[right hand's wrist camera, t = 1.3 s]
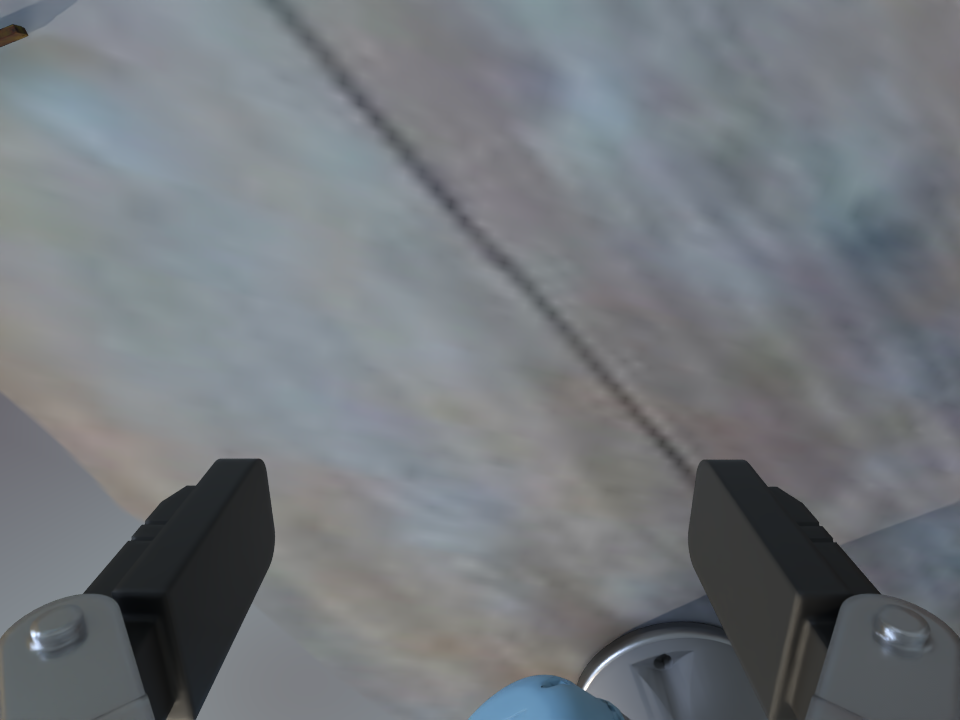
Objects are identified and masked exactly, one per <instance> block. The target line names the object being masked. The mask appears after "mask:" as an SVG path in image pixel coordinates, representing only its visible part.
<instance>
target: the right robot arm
mask: <svg viewBox="0 0 960 720" xmlns="http://www.w3.org/2000/svg"><path fill="white" fill-rule="evenodd" d="M274 545H275V529H274V522H273V514H272V507H271V500H270V492H269V485H268V478H267V471H266V467H265V464H264V462H263V460H261V459H218V460H217V461H216V462H215V463H214V464H213V465H212V466H211V468H210V469H209V470H208V471H207V473H206V474H205V475H204V476H203V478H202V479H201V480H200V481H199V483H198V484H197V485H196V486H186V487H184V488H182V489H181V490H179V491H178V492H176V493H175V494H173V495H172V496H170V497H168V498H167V499H165V500H164V501H162V502H161V503H160V504H159V505H158V507H157V508H156V509H155V510H154V511H153V512H152V514H151V515H150V516H149V517H148V518H147V519H146V521H145V525H141V526H140V528H139V529H138V530H137V531H136V532H135V533H134V535H133V536H132V540H131V541H128V542H127V543H126V544H125V545H124V546H123V547H122V549H121V550H120V551H119V552H118V553H117V555H116V556H115V557H114V558H113V559H112V560H111V562H110V563H109V564H108V565H107V566H106V567H105V569H104V570H103V571H102V572H101V573H100V574H99V576H98V577H97V578H96V579H95V580H94V581H93V583H92V584H91V585H90V586H89V587H88V588H87V590H86V591H85V592H84V593H83V594H80V595H73V596H69V597H65V598H62V599H59V600H55V601H53V602H50V603H48V604H45V605H43V606H41V607H39V608H37V609H35V610H33V611H32V612H30V613H29V614H27V615H25V616H24V617H22V618H21V619H20V620H18V621H17V622H16V623H14V624H13V625H12V626H11V627H10V628H9V629H8V630H7V631H6V632H5V633H4V634H3V635H2V637H1V638H0V720H196V718H197V716H198V714H199V712H200V709H201V707H202V705H203V703H204V701H205V699H206V697H207V695H208V693H209V691H210V689H211V687H212V685H213V683H214V680H215V678H216V676H217V674H218V672H219V670H220V668H221V666H222V664H223V662H224V660H225V658H226V656H227V653H228V651H229V649H230V647H231V645H232V643H233V641H234V639H235V637H236V635H237V633H238V631H239V629H240V627H241V624H242V622H243V620H244V618H245V616H246V614H247V612H248V610H249V608H250V606H251V604H252V602H253V600H254V597H255V595H256V593H257V591H258V589H259V587H260V585H261V583H262V581H263V579H264V577H265V575H266V573H267V570H268V568H269V566H270V564H271V561H272V557H273V552H274ZM688 545H689V553H690V558H691V561H692V565H693V567H694V569H695V571H696V573H697V575H698V577H699V579H700V582H701V584H702V586H703V588H704V590H705V592H706V594H707V596H708V598H709V600H710V602H711V604H712V606H713V608H714V610H715V612H716V614H717V616H718V618H719V620H720V623H721V625H722V627H723V629H724V631H725V633H726V635H727V637H728V639H729V641H730V643H731V645H732V647H733V649H734V651H735V653H736V655H737V657H738V659H739V662H740V664H741V666H742V668H743V670H744V672H745V674H746V676H747V678H748V680H749V682H750V684H751V686H752V688H753V690H754V692H755V694H756V696H757V698H758V700H759V703H760V705H761V707H762V709H763V711H764V713H765V715H766V717H767V719H768V720H960V638H959V637H958V635H957V634H956V633H955V632H954V631H953V630H952V629H951V628H950V627H949V626H948V625H947V624H946V623H944V622H943V621H942V620H940V619H939V618H938V617H936V616H935V615H933V614H931V613H930V612H928V611H927V610H925V609H923V608H921V607H919V606H917V605H915V604H912V603H910V602H907V601H905V600H901V599H898V598H895V597H891V596H887V595H881V594H880V592H879V591H878V590H877V589H876V588H875V587H874V585H873V584H872V583H871V582H870V581H869V580H868V579H867V577H866V576H865V575H864V574H863V573H862V572H861V570H860V569H859V568H858V567H857V566H856V565H855V563H854V562H853V561H852V560H851V559H850V558H849V556H848V555H847V554H846V553H845V552H844V551H843V550H842V548H841V547H840V546H839V545H838V544H837V543H836V542H833V538H832V537H831V536H830V534H829V533H828V532H827V531H826V530H825V529H824V528H823V526H819V522H818V521H817V519H816V518H815V517H814V516H813V515H812V514H811V512H810V511H809V510H808V509H807V508H806V507H805V505H804V504H803V503H801V502H800V501H798V500H797V499H795V498H794V497H792V496H790V495H789V494H787V493H786V492H784V491H783V490H781V489H779V488H778V487H768V486H767V485H766V484H765V483H764V482H763V480H762V479H761V478H760V477H759V475H758V474H757V473H756V472H755V470H754V469H753V468H752V467H751V465H750V464H749V463H748V462H747V461H745V460H702V461H701V462H700V463H699V466H698V469H697V474H696V481H695V488H694V495H693V502H692V509H691V517H690V524H689V532H688Z"/></svg>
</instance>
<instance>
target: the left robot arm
mask: <svg viewBox="0 0 960 720" xmlns="http://www.w3.org/2000/svg"><path fill="white" fill-rule="evenodd" d="M468 720H768V719H767V717H766V715H765V713H764V711H763V709H762V707H761V705H760V703H759V700H758V698H757V696H756V694H755V692H754V690H753V688H752V686H751V684H750V682H749V680H748V678H747V676H746V674H745V672H744V670H743V668H742V666H741V664H740V662H739V659H738V657H737V655H736V653H735V651H734V649H733V647H732V645H731V643H730V641H729V639H728V637H727V635H726V633H725V631H724V629H721V628H718V627H715V626H712V625H707V624H702V623H694V622H670V623H661V624H656V625H651V626H648V627H644V628H641V629H638V630H635V631H632V632H630V633H628V634H626V635H624V636H622V637H620V638H618V639H616V640H615V641H613V642H612V643H610V644H609V645H607V646H606V647H605V648H603V649H602V650H601V651H600V652H599V653H598V654H597V655H596V656H595V657H594V658H593V659H592V660H591V661H590V662H589V663H588V665H587V666H586V668H585V669H584V671H583V673H582V674H581V676H580V678H579V681H578V683H577V685H575V684H574V683H572V682H571V681H569V680H566V679H564V678H561V677H557V676H553V675H536V676H530V677H526V678H523V679H521V680H518V681H516V682H514V683H512V684H510V685H508V686H506V687H505V688H503V689H501V690H500V691H499V692H497V693H496V694H494V695H493V696H492V697H490V698H489V699H488V700H487V701H486V702H485V703H483V704H482V705H481V706H480V707H479V708H478V709H477V710H476V711H475V712H474V713H473V714H472V715H471V717H470V718H469V719H468Z"/></svg>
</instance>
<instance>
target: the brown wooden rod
mask: <svg viewBox="0 0 960 720" xmlns="http://www.w3.org/2000/svg"><path fill="white" fill-rule="evenodd" d="M27 36H28V34H27V32H26V30H25V28H23V27H21V26H17V25H14V24H12V25H10V26H7V27H5V28H2V29H0V47H2V46H5V45H7V44H9V43H12V42H15V41H17V40H19V39H22V38H24V37H27Z"/></svg>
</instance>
